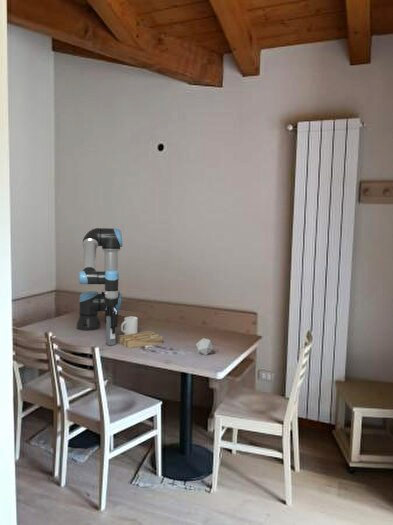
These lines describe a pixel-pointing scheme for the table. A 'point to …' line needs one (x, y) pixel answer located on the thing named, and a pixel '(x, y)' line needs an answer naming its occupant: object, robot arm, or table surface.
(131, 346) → the port block
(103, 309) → the robot arm
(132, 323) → the mug
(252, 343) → the table surface
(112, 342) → the plug
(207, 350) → the die
